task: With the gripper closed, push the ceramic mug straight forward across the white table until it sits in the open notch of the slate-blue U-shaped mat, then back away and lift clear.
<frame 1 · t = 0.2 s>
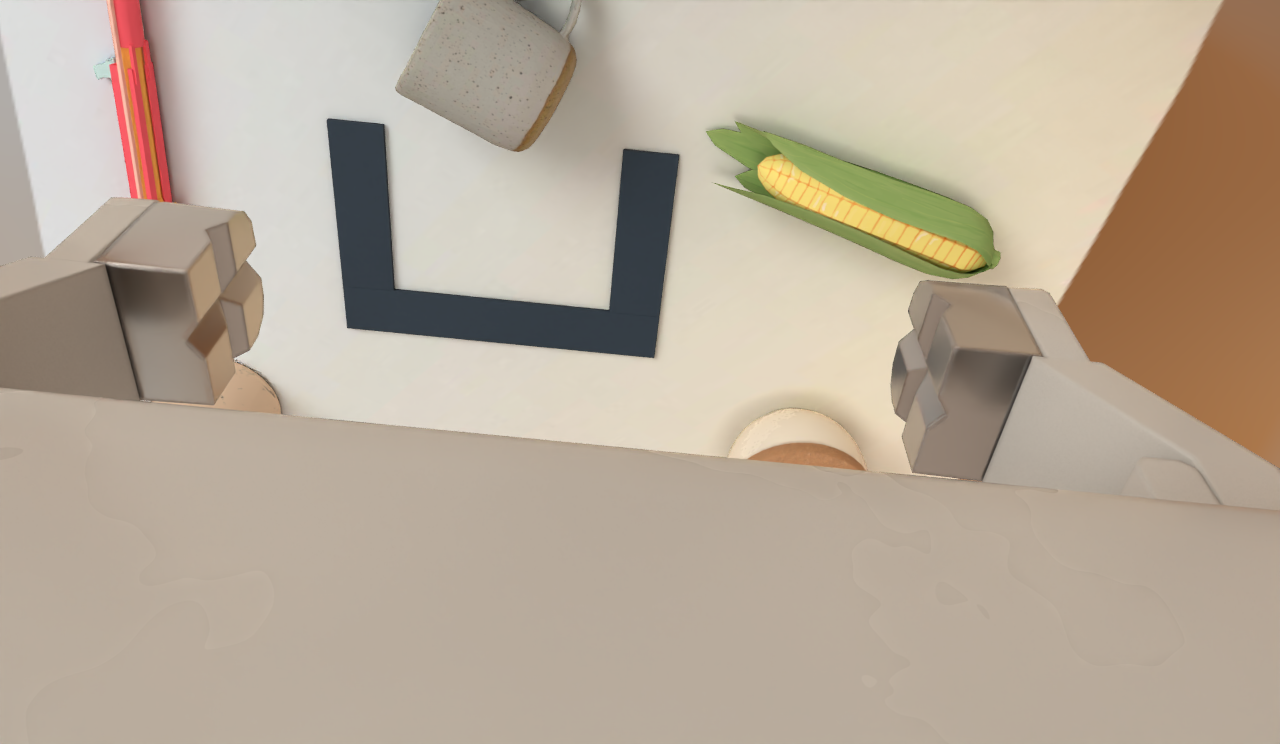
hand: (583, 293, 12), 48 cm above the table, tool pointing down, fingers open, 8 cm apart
teacup with lid: (229, 414, 75), on the table
edible corn: (848, 185, 62), on the table
red striped bar: (134, 55, 59), on the table
mat: (503, 222, 65), on the table
trinket box: (788, 437, 75), on the table
ceramic mug: (506, 21, 57), on the table
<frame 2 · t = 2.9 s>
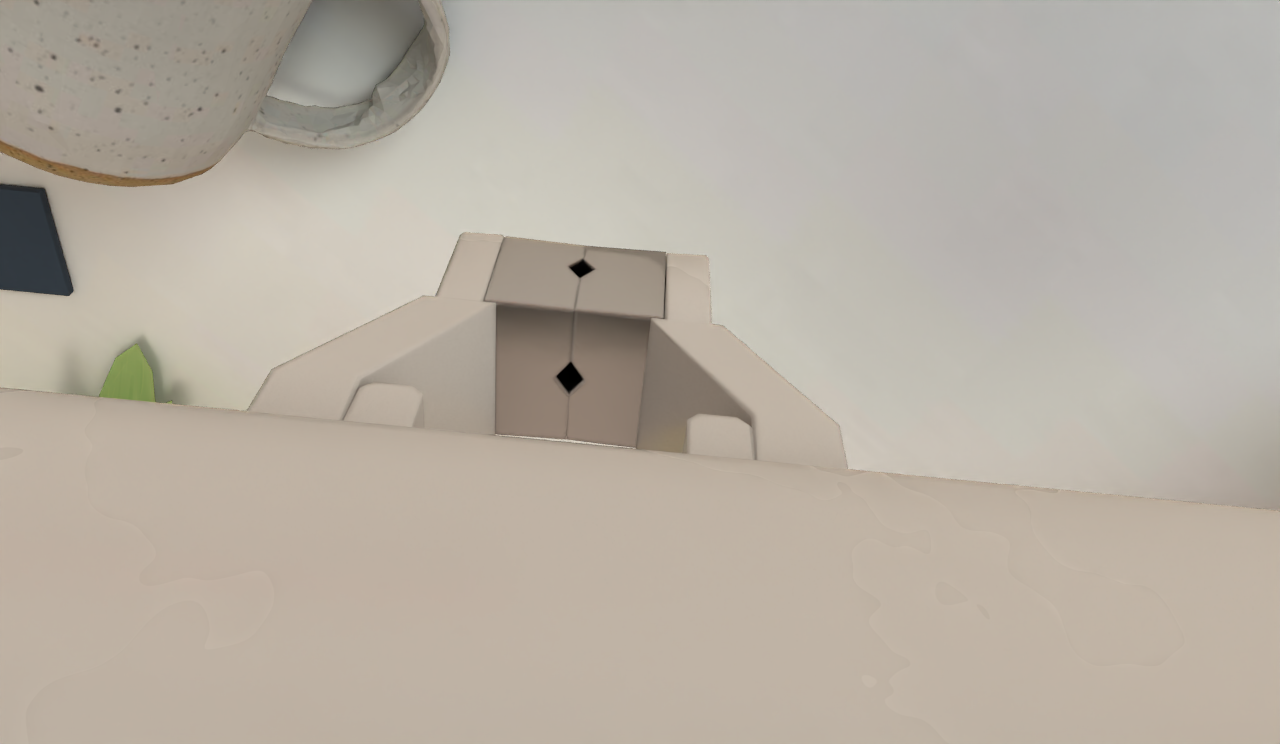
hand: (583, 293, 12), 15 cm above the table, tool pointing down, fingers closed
edible corn: (121, 534, 37), on the table
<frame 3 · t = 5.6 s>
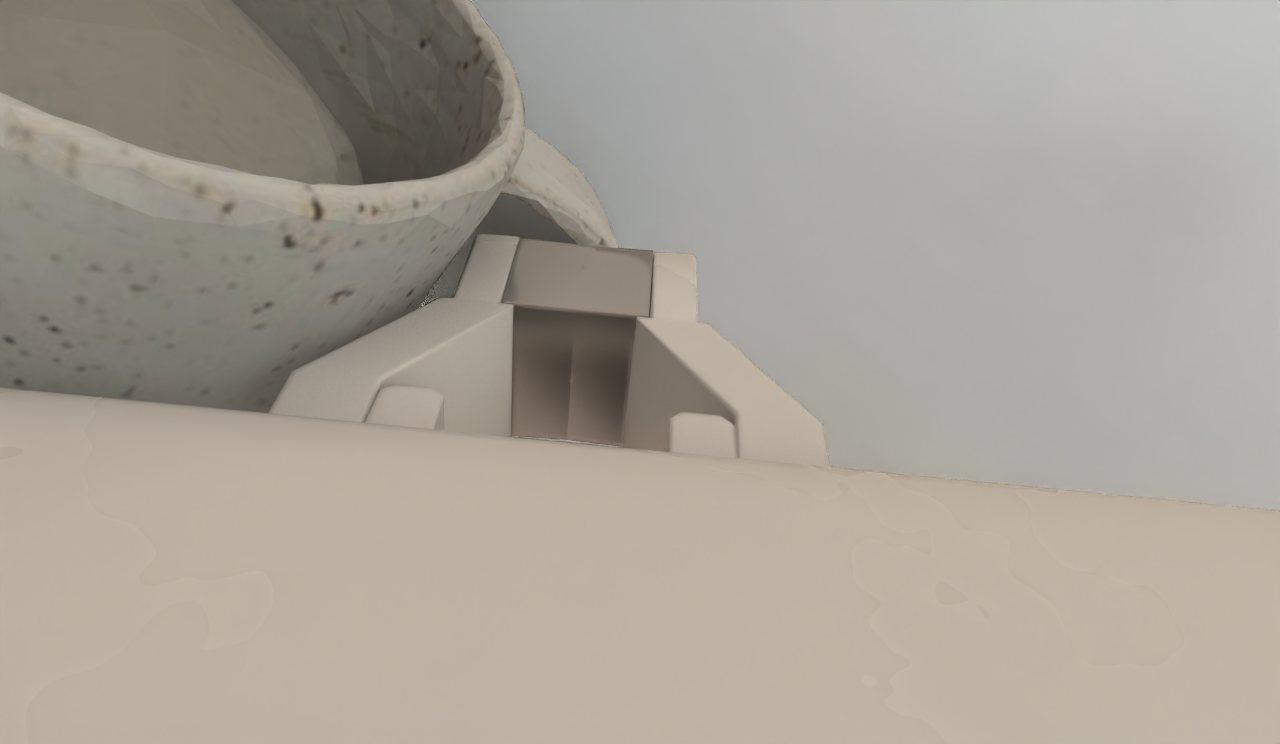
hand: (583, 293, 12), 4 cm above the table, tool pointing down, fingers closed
ceramic mug: (310, 134, 15), on the table, touching gripper
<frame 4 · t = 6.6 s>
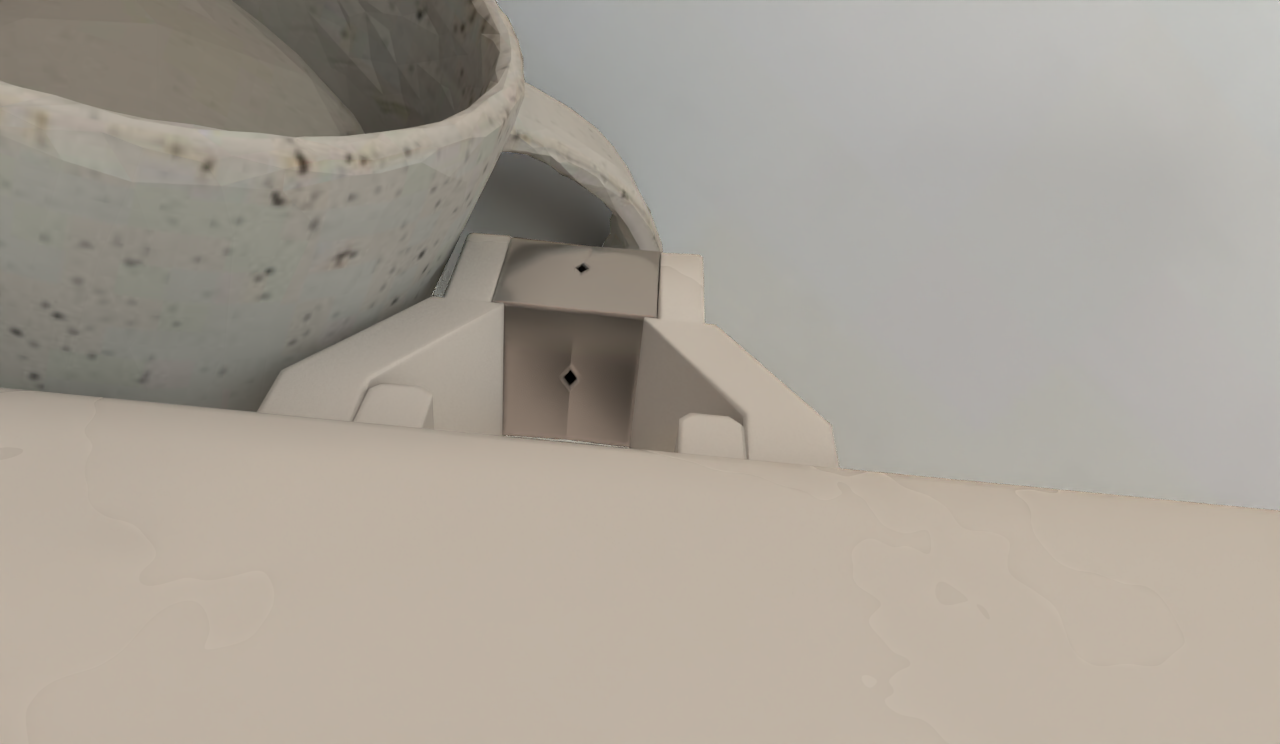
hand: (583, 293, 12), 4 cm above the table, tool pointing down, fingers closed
ceramic mug: (327, 129, 15), on the table, touching gripper
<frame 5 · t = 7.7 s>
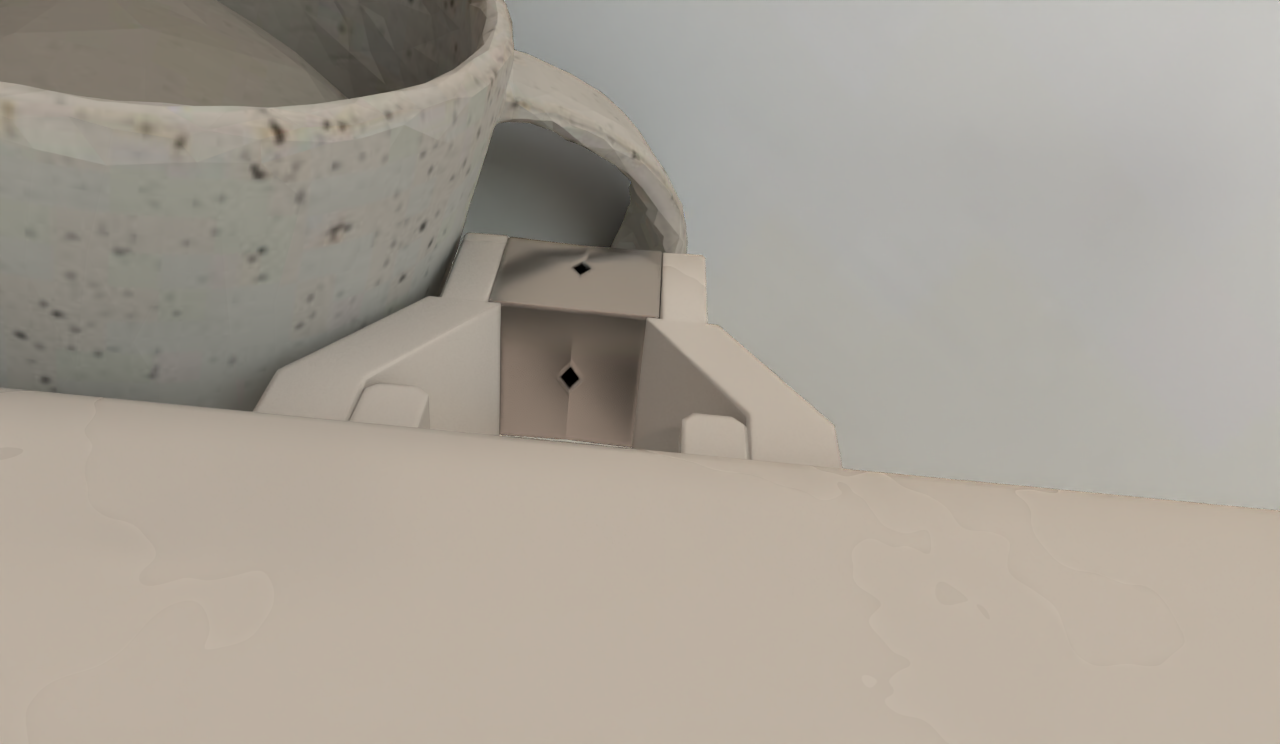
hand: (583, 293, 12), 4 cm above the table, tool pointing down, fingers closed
ceramic mug: (339, 130, 15), on the table, touching gripper
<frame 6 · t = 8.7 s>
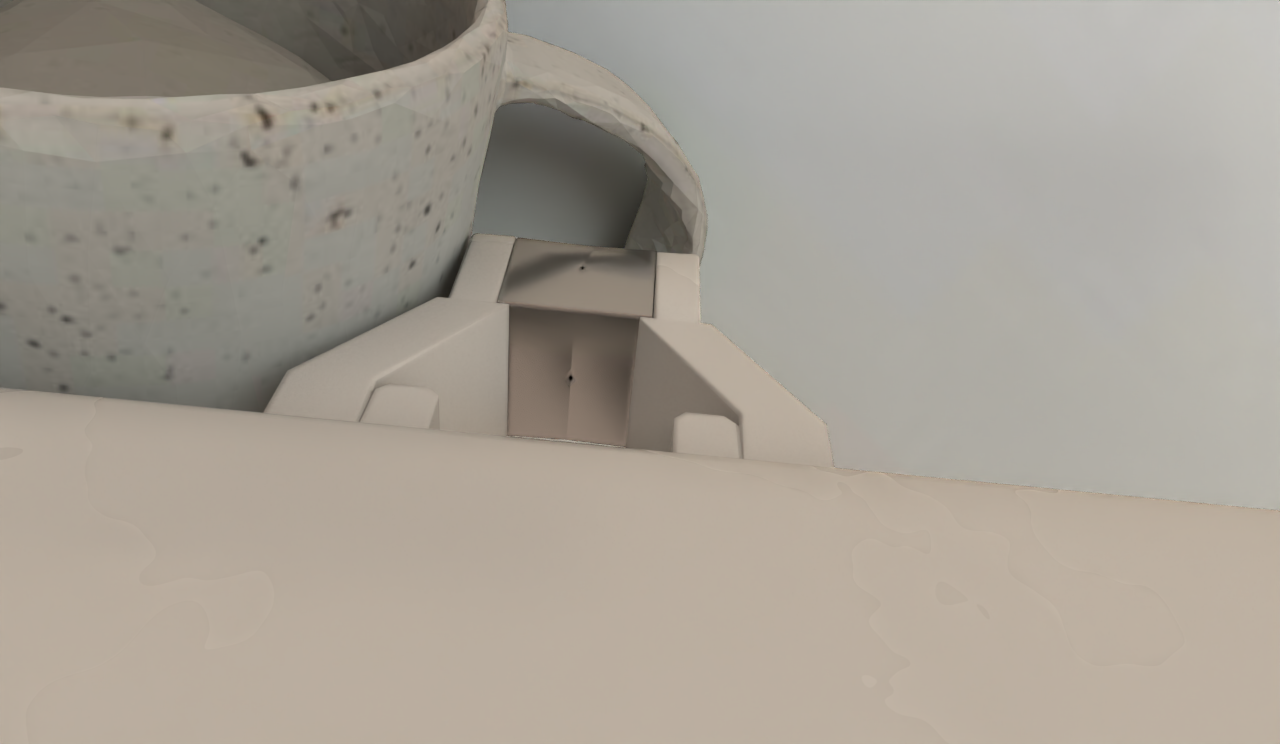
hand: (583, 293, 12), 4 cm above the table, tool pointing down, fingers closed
ceramic mug: (353, 135, 15), on the table, touching gripper
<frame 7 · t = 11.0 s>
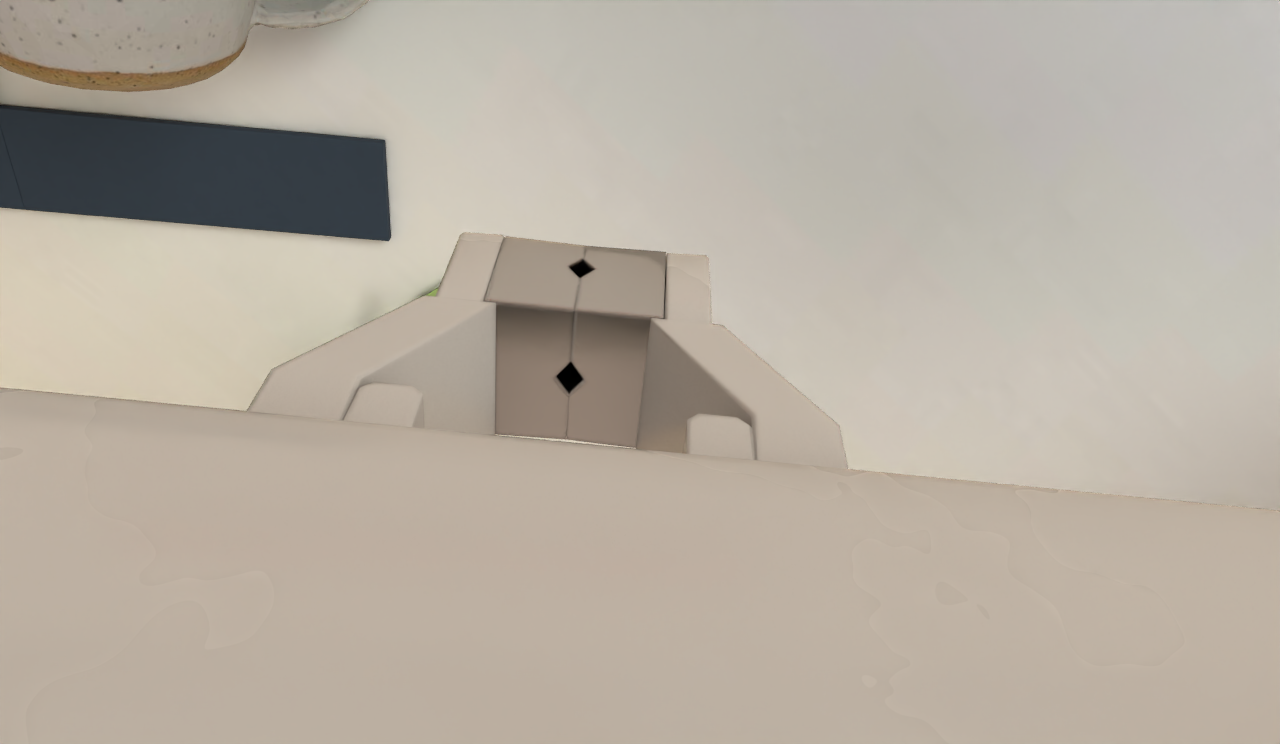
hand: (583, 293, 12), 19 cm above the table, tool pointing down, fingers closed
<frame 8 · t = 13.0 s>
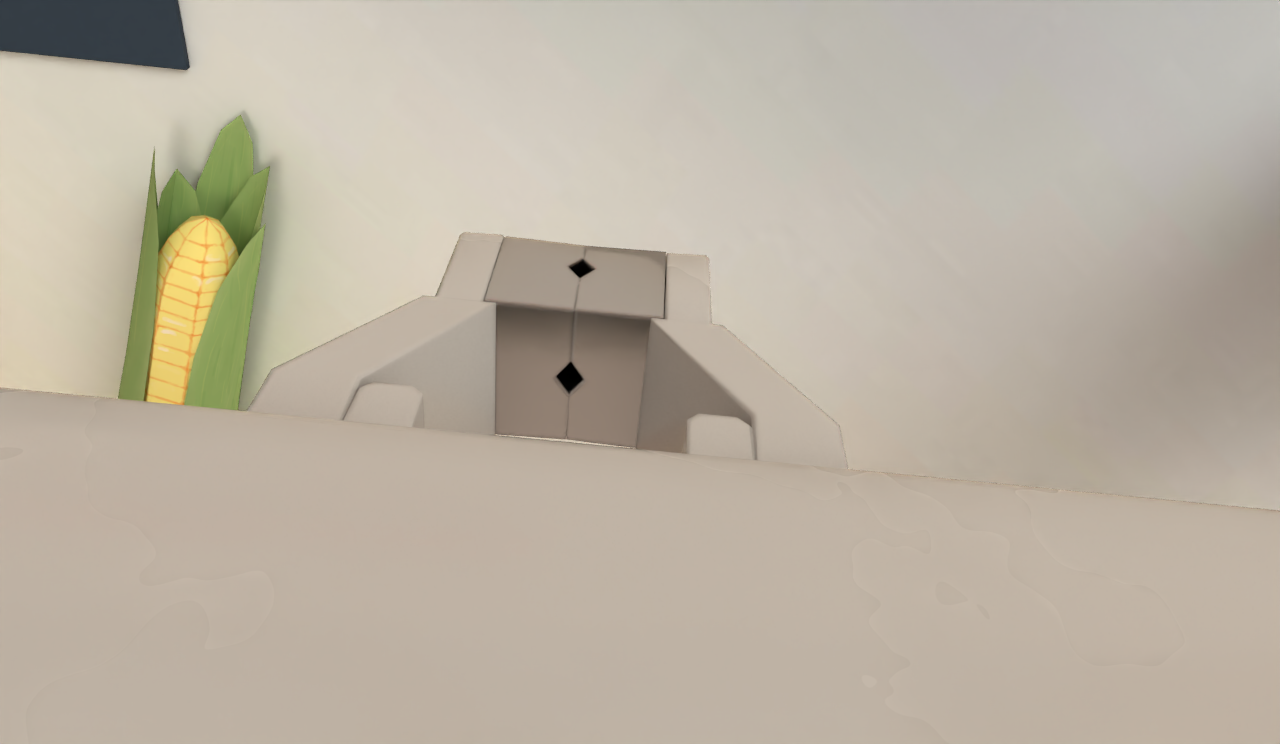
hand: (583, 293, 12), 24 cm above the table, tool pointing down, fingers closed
edible corn: (212, 316, 42), on the table
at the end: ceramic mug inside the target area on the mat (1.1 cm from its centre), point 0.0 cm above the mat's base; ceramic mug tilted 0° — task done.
